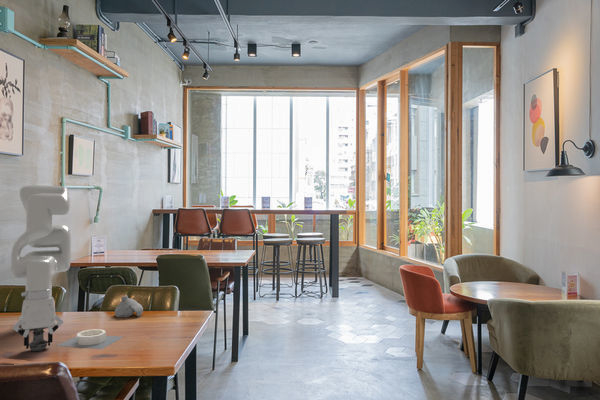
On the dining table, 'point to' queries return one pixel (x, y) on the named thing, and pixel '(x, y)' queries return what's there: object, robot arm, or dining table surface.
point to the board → (102, 345)
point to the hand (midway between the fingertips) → (38, 345)
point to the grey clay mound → (128, 308)
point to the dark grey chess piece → (38, 340)
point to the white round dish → (91, 337)
